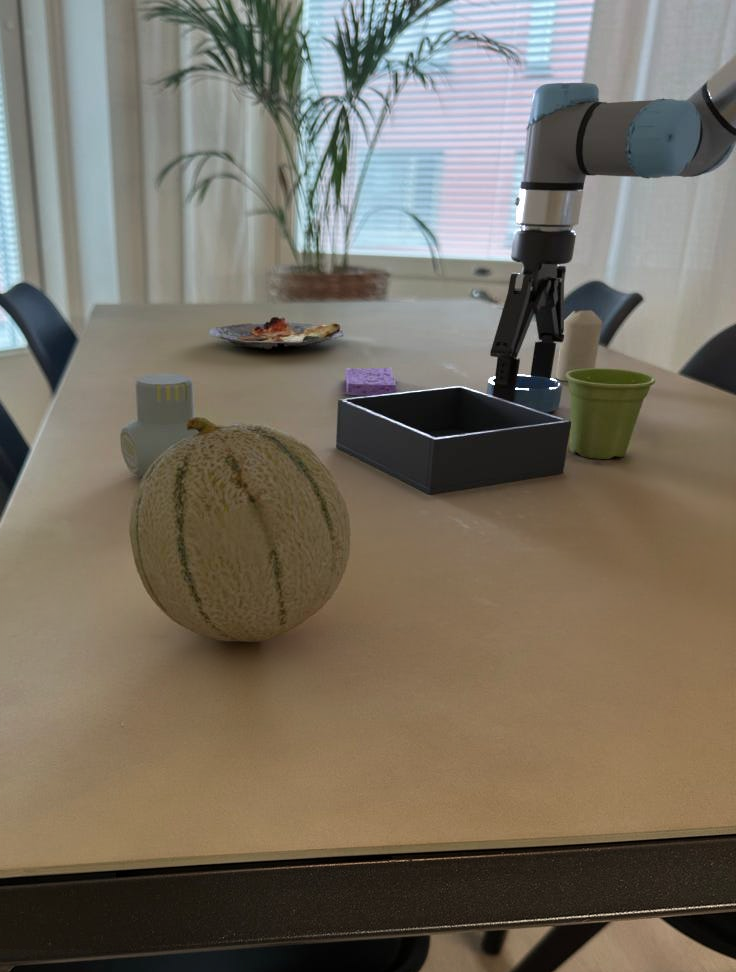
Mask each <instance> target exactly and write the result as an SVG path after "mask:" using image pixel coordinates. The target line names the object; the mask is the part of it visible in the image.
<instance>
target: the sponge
mask: <svg viewBox="0 0 736 972" xmlns="http://www.w3.org/2000/svg"><path fill="white" fill-rule="evenodd" d="M392 369H393V368H392V367H384V368H383V367H380V368H379V367H378V368H377V367H376V368H375V367H374V368H357V367H356V368H355V367H352V368H351V367H346V371H345V383H346V394H347V395H350V396H357V397H365V396H374V395H383V394H392V393H396V388H397V384H396V380H395V377H394V373H393V370H392Z"/></svg>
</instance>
